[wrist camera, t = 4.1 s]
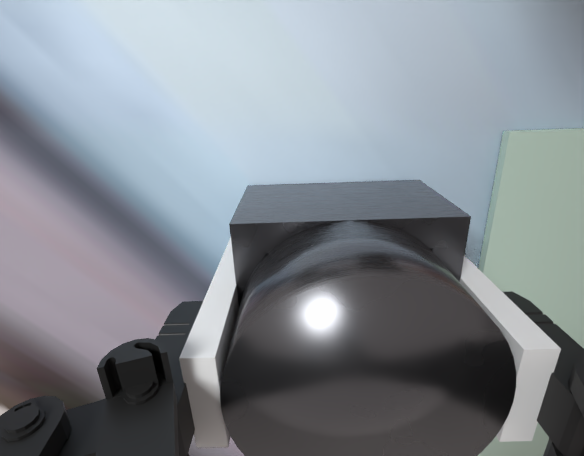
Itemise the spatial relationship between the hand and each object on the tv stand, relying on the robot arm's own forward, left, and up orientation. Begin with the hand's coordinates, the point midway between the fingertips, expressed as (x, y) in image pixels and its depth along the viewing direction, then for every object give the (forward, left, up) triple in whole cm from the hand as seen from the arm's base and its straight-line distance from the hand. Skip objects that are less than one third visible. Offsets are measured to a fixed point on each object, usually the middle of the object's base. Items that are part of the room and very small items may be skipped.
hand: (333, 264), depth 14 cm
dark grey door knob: (0, 0, 0) cm, 0 cm away
